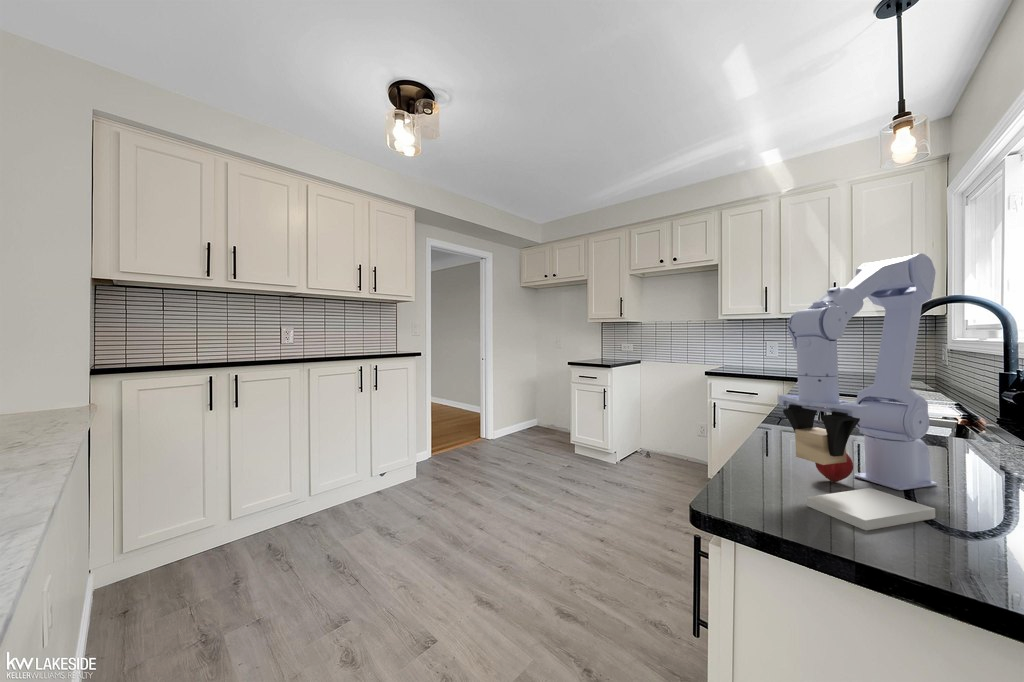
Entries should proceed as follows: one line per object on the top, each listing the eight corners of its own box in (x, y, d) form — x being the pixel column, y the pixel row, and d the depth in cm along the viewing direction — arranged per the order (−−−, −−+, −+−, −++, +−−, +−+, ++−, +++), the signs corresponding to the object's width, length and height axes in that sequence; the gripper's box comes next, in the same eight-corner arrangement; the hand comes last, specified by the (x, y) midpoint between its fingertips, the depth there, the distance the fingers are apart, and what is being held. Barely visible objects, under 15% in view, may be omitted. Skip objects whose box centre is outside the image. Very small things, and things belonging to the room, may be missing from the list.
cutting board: (870, 496, 68) (870, 487, 68) (935, 518, 60) (935, 508, 60) (806, 505, 65) (806, 497, 65) (865, 530, 57) (865, 520, 57)
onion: (861, 488, 72) (859, 446, 72) (826, 487, 73) (825, 445, 73) (841, 477, 78) (840, 438, 78) (809, 476, 79) (807, 437, 79)
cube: (818, 454, 71) (817, 427, 71) (846, 462, 66) (845, 433, 66) (796, 456, 70) (794, 429, 70) (823, 464, 65) (822, 435, 65)
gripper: (764, 373, 75) (766, 443, 75) (842, 379, 61) (845, 465, 60) (794, 371, 76) (796, 440, 76) (876, 377, 62) (880, 461, 62)
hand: (820, 451), depth 68 cm, fingers closed on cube, 5 cm apart
